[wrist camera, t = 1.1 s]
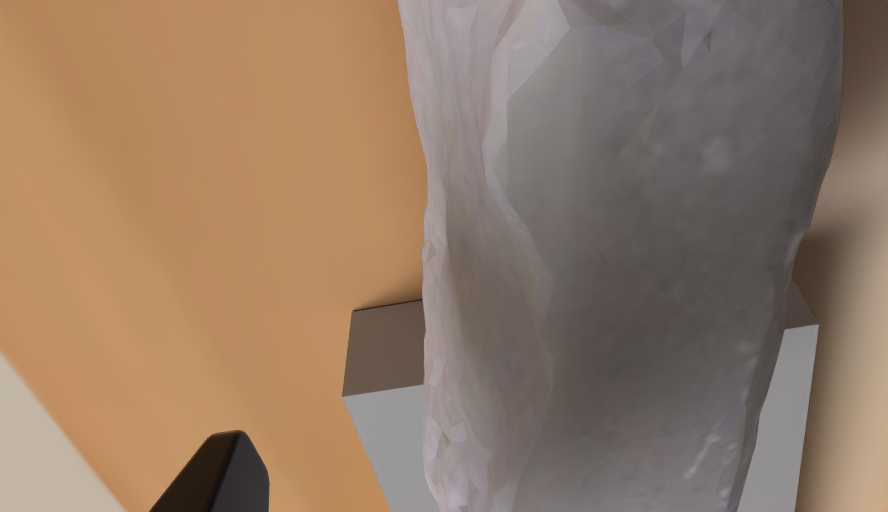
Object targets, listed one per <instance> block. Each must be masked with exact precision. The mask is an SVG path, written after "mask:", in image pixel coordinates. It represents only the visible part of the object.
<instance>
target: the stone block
mask: <svg viewBox="0 0 888 512" xmlns="http://www.w3.org/2000/svg"><path fill="white" fill-rule="evenodd" d="M397 1H398V6H399V12H400V17H401V22H402V27H403V32H404V40H405V50H406V61H407V71H408V81H409V90H410V95H411V100H412V105H413V111H414V116H415V120H416V124H417V128H418V132H419V135H420V139H421V143H422V147H423V151H424V155H425V159H426V163H427V167H428V176H427V180H428V203H427V207H426V210H425V214H424V243H423V247H422V251H421V254H422V260H423V286H422V298H423V307H424V316H425V326H426V333H425V337H424V369H425V375H424V412H423V434H422V452H423V463H424V471H425V478H426V481H427V483H428V486H429V489H430V491H431V492H432V494H433V496H434V497H435V499H436V501H437V502H438V505H439V508H440V511H441V512H737V510H738V506H739V503H740V499H741V496H742V492H743V489H744V485H745V481H746V478H747V474H748V470H749V467H750V463H751V460H752V456H753V453H754V449H755V446H756V440H757V433H758V426H759V418H760V413H761V410H762V407H763V404H764V402H765V399H766V396H767V393H768V390H769V386H770V383H771V379H772V376H773V373H774V369H775V366H776V362H777V359H778V355H779V351H780V347H781V343H782V339H783V335H784V331H785V327H786V323H787V296H786V295H787V291H788V287H789V283H790V279H791V275H792V271H793V267H794V263H795V258H796V254H797V250H798V247H799V245H800V243H801V241H802V239H803V237H804V235H805V233H806V231H807V230H808V228H809V226H810V223H811V219H812V216H813V212H814V209H815V205H816V202H817V198H818V195H819V191H820V187H821V184H822V182H823V179H824V176H825V174H826V171H827V169H828V166H829V164H830V160H831V156H832V151H833V146H834V142H835V137H836V132H837V128H838V123H839V118H840V106H841V95H842V83H843V40H844V20H843V0H397Z"/></svg>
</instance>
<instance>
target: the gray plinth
mask: <svg viewBox="0 0 888 512" xmlns="http://www.w3.org/2000/svg"><path fill="white" fill-rule="evenodd" d="M786 296H787V323H786V327H785V331H784V335H783V339H782V343H781V347H780V351H779V355H778V359H777V362H776V366H775V369H774V373H773V376H772V379H771V383H770V386H769V390H768V393H767V396H766V399H765V402H764V404H763V407H762V410H761V413H760V418H759V426H758V433H757V440H756V446H755V449H754V453H753V456H752V460H751V463H750V467H749V470H748V474H747V478H746V481H745V485H744V489H743V492H742V496H741V499H740V503H739V506H738V510H737V512H795V505H796V497H797V490H798V482H799V474H800V467H801V459H802V451H803V444H804V436H805V429H806V421H807V413H808V406H809V398H810V390H811V383H812V375H813V368H814V360H815V352H816V345H817V337H818V329H819V323H818V321H817V320H816V318H815V316H814V314H813V313H812V311H811V309H810V307H809V306H808V304H807V302H806V300H805V299H804V297H803V295H802V293H801V292H800V290H799V288H798V286H797V285H796V283H795V281H794V279H793V278H792V276H791V279H790V283H789V287H788V291H787V295H786ZM425 333H426V326H425V316H424V307H423V300H421V301H415V302H409V303H403V304H397V305H391V306H384V307H378V308H372V309H366V310H360V311H354V312H352V315H351V324H350V333H349V342H348V350H347V359H346V368H345V376H344V385H343V394H342V398H343V400H344V402H345V405H346V407H347V409H348V412H349V414H350V416H351V419H352V421H353V423H354V426H355V428H356V430H357V433H358V435H359V437H360V440H361V442H362V444H363V447H364V449H365V451H366V454H367V456H368V458H369V461H370V463H371V465H372V468H373V470H374V472H375V475H376V477H377V479H378V482H379V484H380V486H381V489H382V491H383V493H384V496H385V498H386V500H387V503H388V505H389V507H390V510H391V512H441V511H440V508H439V505H438V502H437V501H436V499H435V497H434V496H433V494H432V492H431V491H430V489H429V486H428V483H427V481H426V478H425V471H424V463H423V452H422V434H423V412H424V375H425V369H424V337H425Z"/></svg>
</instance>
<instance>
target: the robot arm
mask: <svg viewBox="0 0 888 512" xmlns="http://www.w3.org/2000/svg"><path fill="white" fill-rule="evenodd" d="M268 511H269V476H268V472H267V469H266V466H265V465H264V463H263V461H262V459H261V458H260V456H259V454H258V452H257V450H256V449H255V447H254V445H253V443H252V442H251V440H250V438H249V437H248V435H247V434H246V433H245V432H244V431H242V430H234V431H227V432H220V433H215V434H213V435H211V436H210V437H208V438H207V439H206V440H205V441H204V443H203V444H202V445H201V447H200V448H199V449H198V450H197V452H196V453H195V454H194V455H193V457H192V458H191V459H190V460H189V462H188V463H187V464H186V465H185V467H184V468H183V469H182V470H181V472H180V473H179V474H178V475H177V477H176V478H175V479H174V480H173V482H172V483H171V484H170V485H169V487H168V488H167V489H166V490H165V492H164V493H163V494H162V496H161V497H160V498H159V499H158V501H157V502H156V503H155V504H154V506H153V507H152V508H151V509H150V511H149V512H268Z"/></svg>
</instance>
